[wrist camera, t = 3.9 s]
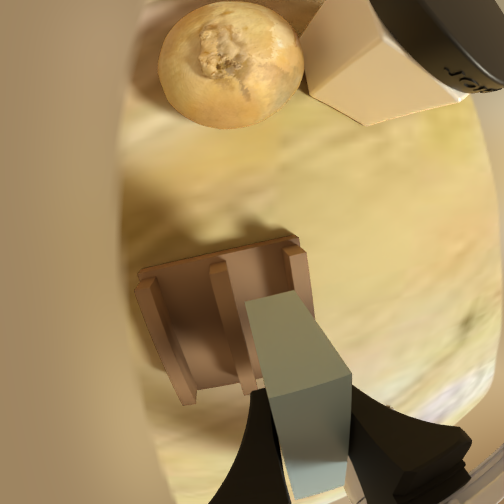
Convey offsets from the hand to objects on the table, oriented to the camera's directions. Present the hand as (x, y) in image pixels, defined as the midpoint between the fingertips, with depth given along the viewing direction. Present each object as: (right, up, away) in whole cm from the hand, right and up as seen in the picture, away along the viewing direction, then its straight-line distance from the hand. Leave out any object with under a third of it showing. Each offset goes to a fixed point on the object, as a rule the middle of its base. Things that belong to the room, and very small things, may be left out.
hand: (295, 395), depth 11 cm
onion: (-4, +18, +4) cm, 18 cm away
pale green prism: (0, +1, +3) cm, 3 cm away
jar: (+5, +19, +5) cm, 21 cm away
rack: (-3, +2, +8) cm, 9 cm away
